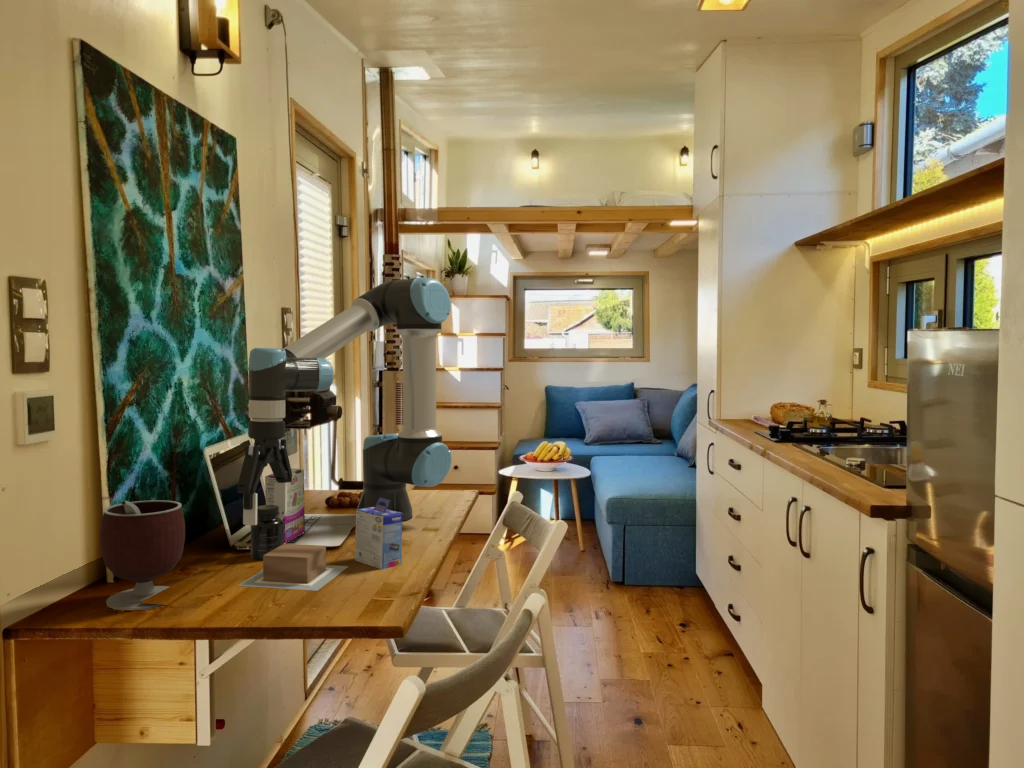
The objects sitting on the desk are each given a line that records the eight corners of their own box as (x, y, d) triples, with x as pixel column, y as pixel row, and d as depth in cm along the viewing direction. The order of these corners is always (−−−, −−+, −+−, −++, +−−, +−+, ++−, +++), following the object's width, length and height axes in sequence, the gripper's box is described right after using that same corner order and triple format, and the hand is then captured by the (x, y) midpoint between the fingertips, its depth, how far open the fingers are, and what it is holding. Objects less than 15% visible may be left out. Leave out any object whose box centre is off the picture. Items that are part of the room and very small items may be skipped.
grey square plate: (276, 567, 158) (276, 561, 157) (348, 571, 155) (348, 565, 155) (237, 591, 142) (237, 585, 142) (317, 596, 139) (317, 590, 139)
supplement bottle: (249, 559, 164) (249, 504, 163) (282, 556, 167) (281, 502, 166) (252, 567, 158) (251, 511, 157) (285, 564, 160) (285, 508, 160)
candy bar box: (286, 532, 188) (286, 467, 187) (305, 534, 187) (305, 468, 186) (264, 544, 177) (264, 475, 176) (284, 545, 176) (284, 476, 175)
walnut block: (284, 567, 154) (284, 543, 153) (326, 570, 152) (326, 545, 152) (263, 581, 145) (263, 555, 144) (307, 583, 143) (307, 557, 143)
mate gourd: (120, 588, 143) (119, 484, 142) (196, 587, 144) (195, 484, 143) (82, 617, 128) (80, 501, 127) (166, 615, 129) (165, 500, 128)
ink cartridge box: (403, 569, 157) (403, 501, 157) (382, 575, 153) (382, 505, 152) (374, 560, 164) (374, 495, 163) (353, 565, 160) (353, 498, 159)
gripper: (277, 415, 174) (276, 506, 174) (219, 423, 149) (218, 529, 150) (307, 416, 172) (306, 507, 173) (254, 425, 148) (253, 531, 148)
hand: (265, 518), depth 161 cm, fingers open, 13 cm apart
